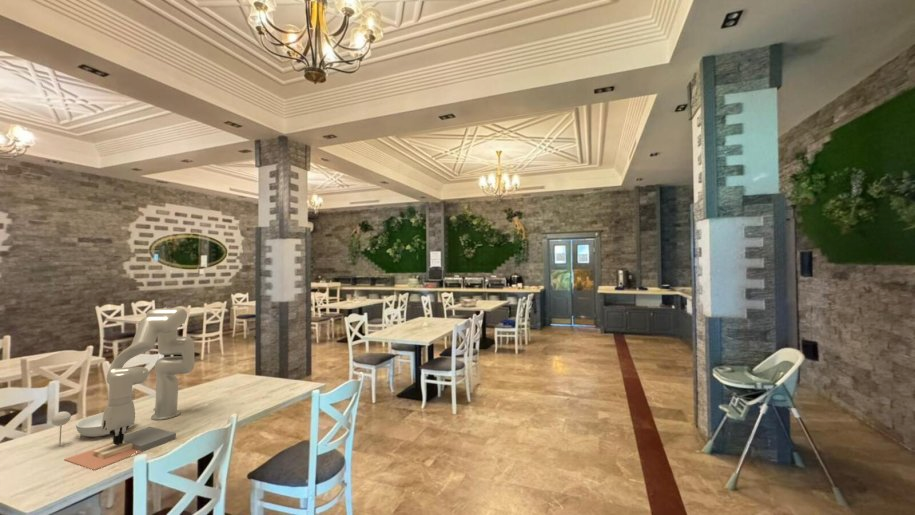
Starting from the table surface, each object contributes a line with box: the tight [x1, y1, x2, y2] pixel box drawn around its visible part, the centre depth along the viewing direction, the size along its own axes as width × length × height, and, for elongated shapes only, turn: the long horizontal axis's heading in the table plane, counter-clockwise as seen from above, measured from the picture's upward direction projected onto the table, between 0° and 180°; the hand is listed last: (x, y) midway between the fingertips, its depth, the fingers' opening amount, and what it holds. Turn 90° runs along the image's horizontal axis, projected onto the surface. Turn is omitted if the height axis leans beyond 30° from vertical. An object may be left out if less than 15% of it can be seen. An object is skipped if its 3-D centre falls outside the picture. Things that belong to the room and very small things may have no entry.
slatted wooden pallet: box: [93, 441, 133, 459], centre depth 157 cm, size 8×10×2 cm
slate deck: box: [123, 426, 177, 452], centre depth 168 cm, size 20×14×2 cm
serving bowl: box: [75, 412, 119, 437], centre depth 178 cm, size 21×21×7 cm
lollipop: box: [51, 411, 72, 447], centre depth 163 cm, size 6×6×15 cm
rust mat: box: [63, 442, 143, 471], centre depth 154 cm, size 22×16×1 cm
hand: (118, 443), depth 158 cm, fingers closed
